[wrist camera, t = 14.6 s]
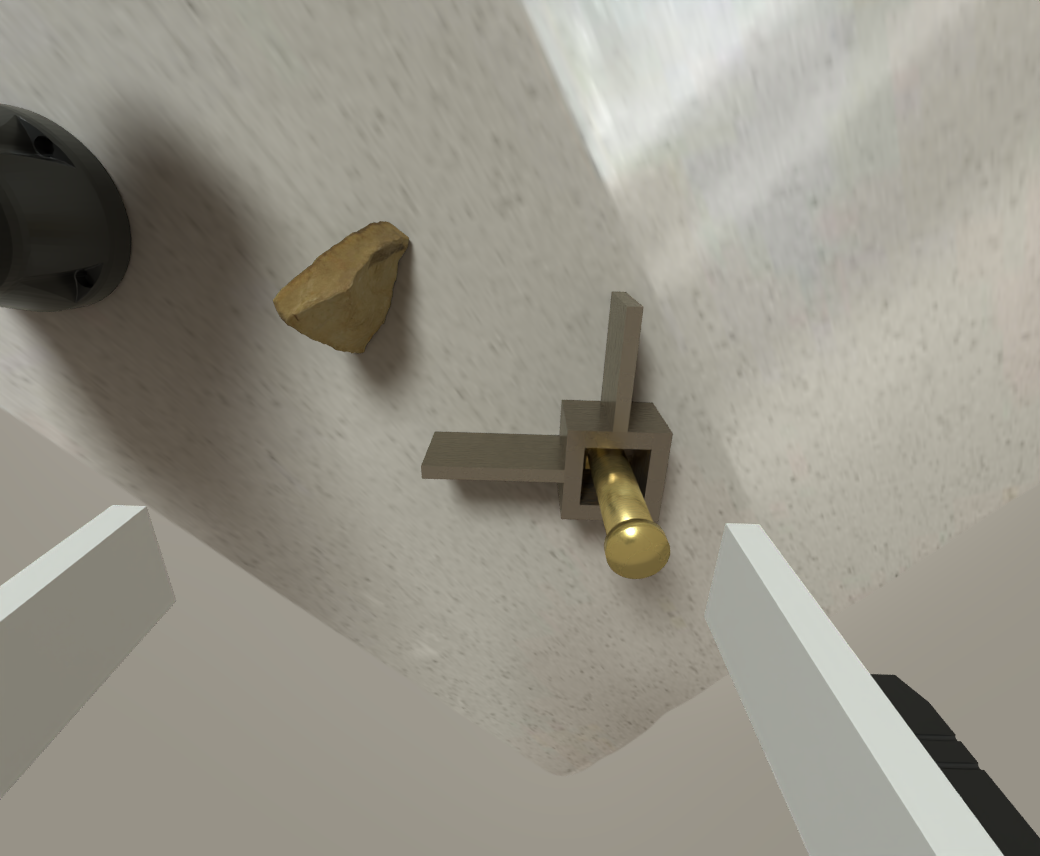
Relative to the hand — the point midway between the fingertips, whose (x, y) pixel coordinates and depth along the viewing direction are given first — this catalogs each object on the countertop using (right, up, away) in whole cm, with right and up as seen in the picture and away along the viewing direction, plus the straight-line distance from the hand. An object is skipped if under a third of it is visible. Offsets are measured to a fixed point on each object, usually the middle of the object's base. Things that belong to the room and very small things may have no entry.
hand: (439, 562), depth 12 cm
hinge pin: (+10, +1, +36) cm, 37 cm away
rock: (-11, +15, +32) cm, 37 cm away
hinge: (+4, +7, +35) cm, 36 cm away
